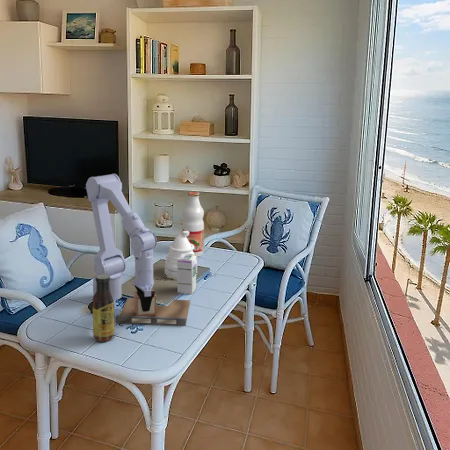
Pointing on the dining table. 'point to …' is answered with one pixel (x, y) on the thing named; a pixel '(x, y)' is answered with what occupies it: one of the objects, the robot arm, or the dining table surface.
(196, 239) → the fruit juice
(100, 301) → the sauce bottle
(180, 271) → the syrup box
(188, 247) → the honey pot
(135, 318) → the brown wooden pallet
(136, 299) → the tea tin
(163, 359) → the dining table surface
